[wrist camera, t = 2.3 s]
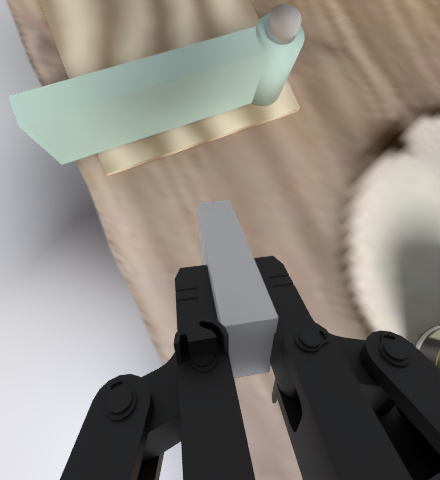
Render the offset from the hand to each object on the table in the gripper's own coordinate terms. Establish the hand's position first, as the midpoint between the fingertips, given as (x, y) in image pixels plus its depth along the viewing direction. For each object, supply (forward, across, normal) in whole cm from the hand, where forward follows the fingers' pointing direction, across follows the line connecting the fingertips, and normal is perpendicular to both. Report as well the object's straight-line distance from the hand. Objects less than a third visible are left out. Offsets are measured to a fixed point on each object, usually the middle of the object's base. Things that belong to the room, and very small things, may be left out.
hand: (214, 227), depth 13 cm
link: (+26, -1, -1) cm, 26 cm away
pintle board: (+34, -1, +6) cm, 34 cm away
